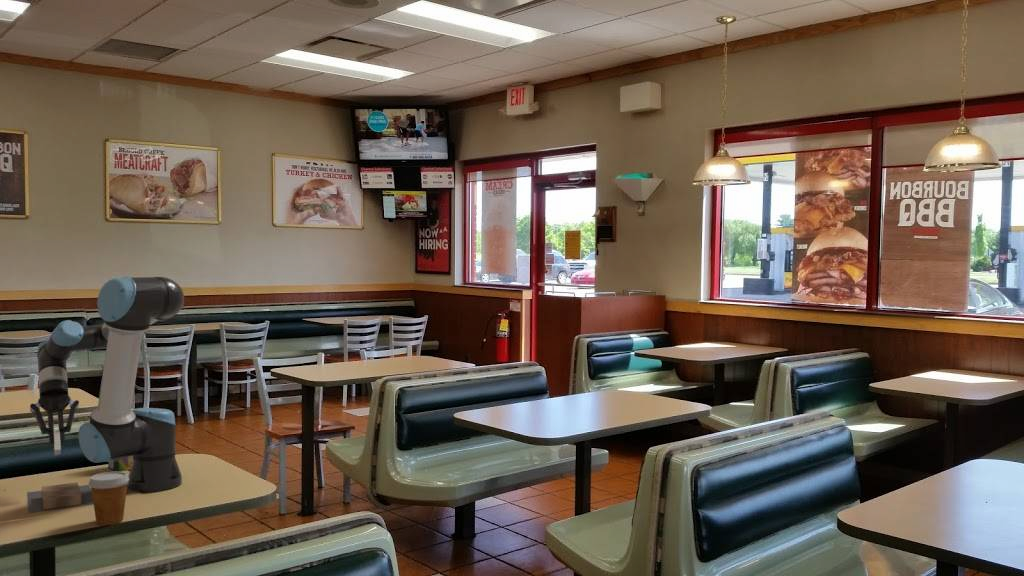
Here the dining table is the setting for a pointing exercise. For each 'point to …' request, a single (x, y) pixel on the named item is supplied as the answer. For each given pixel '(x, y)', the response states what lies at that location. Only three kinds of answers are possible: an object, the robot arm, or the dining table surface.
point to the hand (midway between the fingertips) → (57, 452)
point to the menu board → (61, 495)
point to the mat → (37, 506)
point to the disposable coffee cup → (109, 496)
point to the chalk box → (121, 464)
